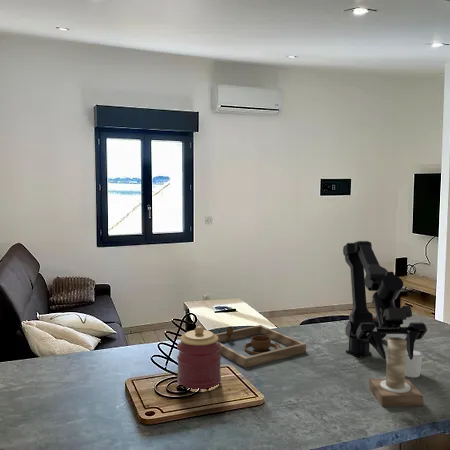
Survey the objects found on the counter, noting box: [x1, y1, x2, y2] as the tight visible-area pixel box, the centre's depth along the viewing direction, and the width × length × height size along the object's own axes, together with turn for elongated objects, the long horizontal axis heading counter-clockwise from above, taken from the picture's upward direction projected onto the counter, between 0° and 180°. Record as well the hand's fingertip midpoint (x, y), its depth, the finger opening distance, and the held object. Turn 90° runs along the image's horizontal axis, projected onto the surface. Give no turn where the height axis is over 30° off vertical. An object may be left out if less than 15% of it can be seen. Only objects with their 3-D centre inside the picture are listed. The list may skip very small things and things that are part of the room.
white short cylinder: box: [405, 349, 424, 378], centre depth 151 cm, size 7×7×7 cm
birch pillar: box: [385, 336, 407, 389], centre depth 134 cm, size 5×5×13 cm
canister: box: [176, 325, 222, 389], centre depth 142 cm, size 13×13×18 cm
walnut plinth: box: [368, 378, 424, 407], centre depth 135 cm, size 11×11×3 cm
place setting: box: [226, 326, 282, 355], centre depth 175 cm, size 18×20×6 cm
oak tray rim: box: [214, 324, 307, 369], centre depth 173 cm, size 26×26×3 cm
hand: (398, 359), depth 132 cm, fingers open, 7 cm apart
